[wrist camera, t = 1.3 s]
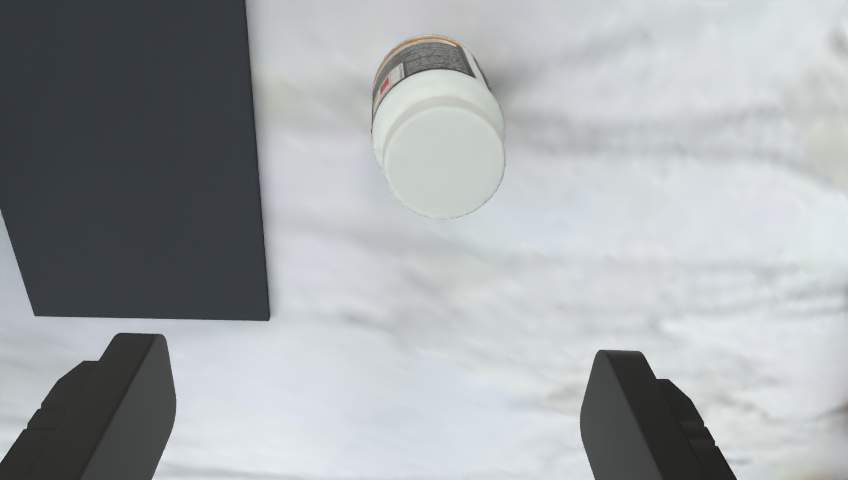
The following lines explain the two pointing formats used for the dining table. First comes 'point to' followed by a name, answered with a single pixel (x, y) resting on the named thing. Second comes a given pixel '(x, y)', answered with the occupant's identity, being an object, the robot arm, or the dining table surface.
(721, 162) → the dining table surface
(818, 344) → the dining table surface
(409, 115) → the pill bottle
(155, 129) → the placemat
